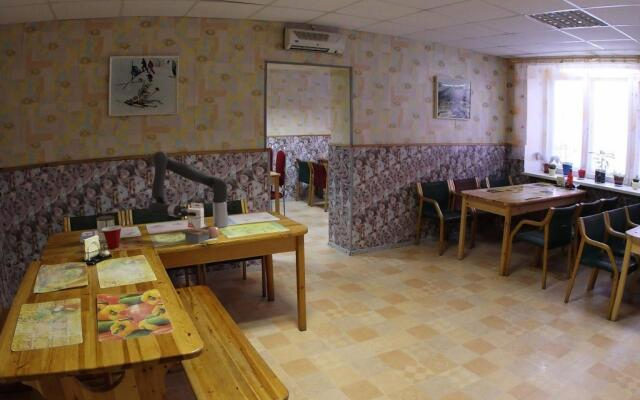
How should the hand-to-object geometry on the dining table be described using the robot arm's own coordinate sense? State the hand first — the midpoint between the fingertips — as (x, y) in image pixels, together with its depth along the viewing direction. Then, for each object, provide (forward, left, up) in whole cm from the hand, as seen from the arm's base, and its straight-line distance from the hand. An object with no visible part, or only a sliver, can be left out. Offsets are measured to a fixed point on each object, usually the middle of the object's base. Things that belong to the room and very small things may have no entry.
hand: (199, 213), depth 280 cm
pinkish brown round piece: (-11, +2, -17) cm, 20 cm away
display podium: (0, -2, -17) cm, 17 cm away
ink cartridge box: (0, -2, -9) cm, 9 cm away
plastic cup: (+33, -36, -17) cm, 52 cm away
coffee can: (+22, -53, -17) cm, 60 cm away
